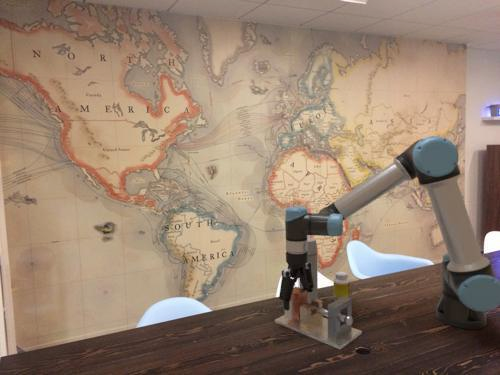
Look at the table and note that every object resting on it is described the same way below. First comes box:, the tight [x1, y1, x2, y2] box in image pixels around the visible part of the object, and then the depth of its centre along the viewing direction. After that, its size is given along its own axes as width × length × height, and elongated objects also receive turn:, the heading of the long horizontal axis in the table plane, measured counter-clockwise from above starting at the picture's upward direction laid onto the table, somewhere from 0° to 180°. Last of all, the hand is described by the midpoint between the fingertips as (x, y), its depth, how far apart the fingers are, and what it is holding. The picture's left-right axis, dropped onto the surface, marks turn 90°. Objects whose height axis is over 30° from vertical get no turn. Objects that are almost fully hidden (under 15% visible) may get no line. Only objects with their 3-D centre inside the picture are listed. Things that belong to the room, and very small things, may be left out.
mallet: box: [287, 286, 354, 325], centre depth 117 cm, size 24×5×9 cm, turn 45°
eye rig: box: [274, 296, 363, 350], centre depth 118 cm, size 26×13×12 cm, turn 45°
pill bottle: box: [333, 271, 350, 301], centre depth 141 cm, size 6×6×11 cm
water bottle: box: [297, 237, 319, 304], centre depth 140 cm, size 9×8×25 cm
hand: (297, 313), depth 124 cm, fingers open, 9 cm apart
